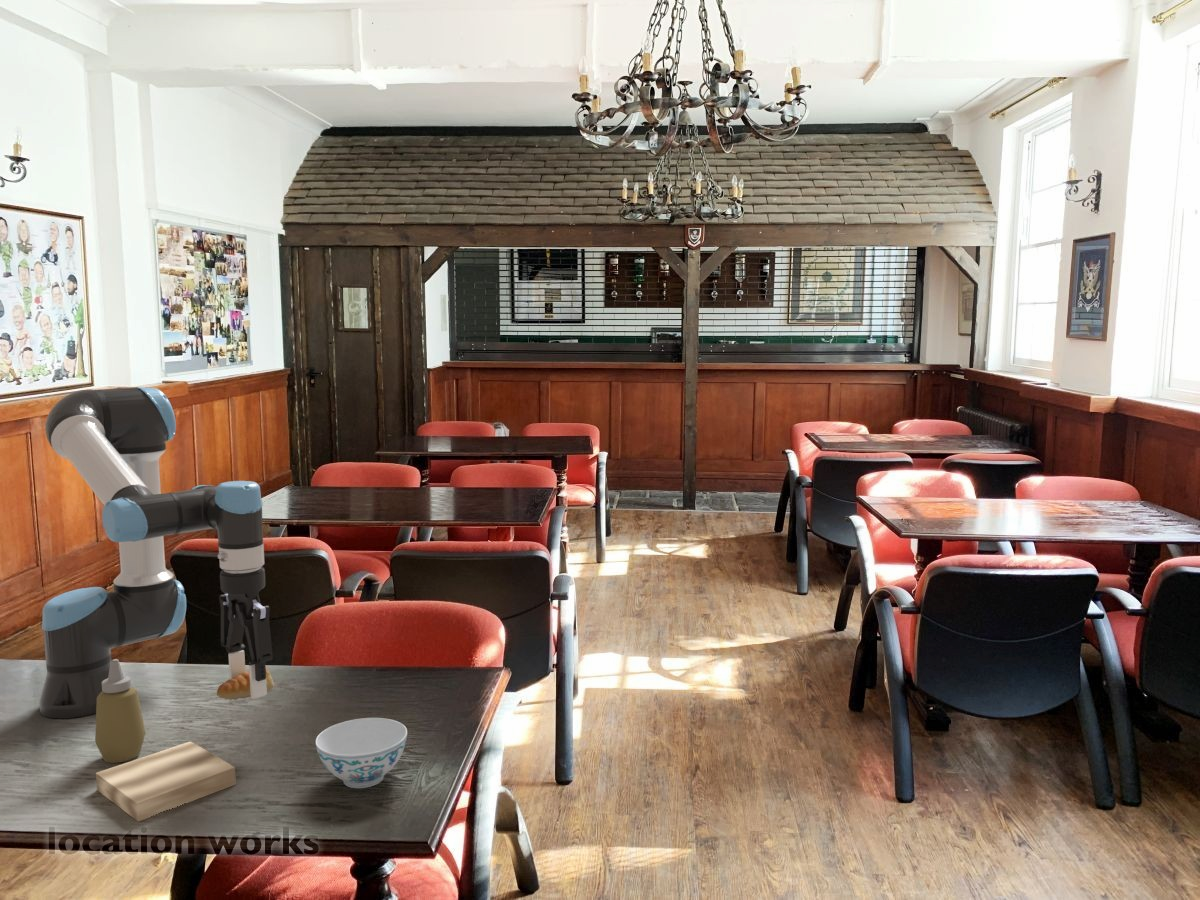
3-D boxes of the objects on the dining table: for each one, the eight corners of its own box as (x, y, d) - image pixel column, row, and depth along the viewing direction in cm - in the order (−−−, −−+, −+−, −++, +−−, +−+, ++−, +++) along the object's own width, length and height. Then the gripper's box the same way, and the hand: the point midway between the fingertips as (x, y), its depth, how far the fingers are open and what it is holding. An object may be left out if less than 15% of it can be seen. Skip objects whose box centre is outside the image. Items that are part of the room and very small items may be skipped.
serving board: (97, 790, 156) (95, 773, 155) (191, 757, 168) (190, 741, 167) (138, 821, 145) (136, 803, 145) (236, 784, 157) (234, 767, 157)
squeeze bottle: (98, 751, 170) (91, 656, 168) (147, 743, 174) (141, 650, 171) (94, 770, 163) (86, 670, 161) (145, 761, 166) (138, 664, 164)
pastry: (226, 705, 164) (224, 684, 164) (211, 695, 169) (209, 675, 169) (277, 691, 171) (276, 670, 170) (261, 681, 175) (260, 662, 175)
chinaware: (333, 759, 166) (331, 717, 165) (417, 759, 166) (416, 717, 165) (304, 800, 151) (302, 755, 150) (396, 800, 151) (394, 755, 150)
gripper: (195, 562, 171) (202, 683, 174) (250, 582, 158) (256, 712, 161) (234, 555, 176) (240, 672, 179) (290, 573, 164) (296, 699, 167)
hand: (248, 691), depth 170 cm, fingers closed on pastry, 7 cm apart
